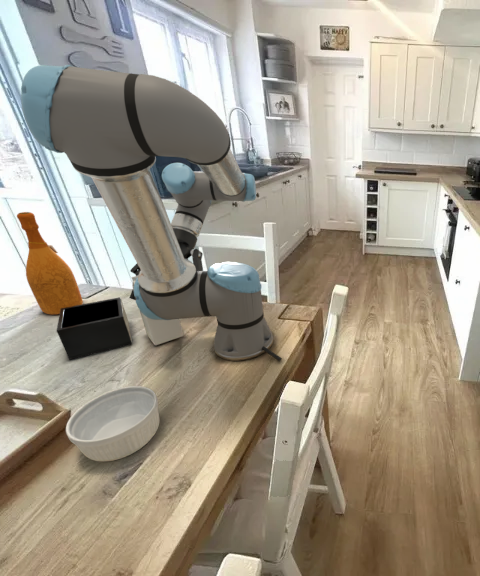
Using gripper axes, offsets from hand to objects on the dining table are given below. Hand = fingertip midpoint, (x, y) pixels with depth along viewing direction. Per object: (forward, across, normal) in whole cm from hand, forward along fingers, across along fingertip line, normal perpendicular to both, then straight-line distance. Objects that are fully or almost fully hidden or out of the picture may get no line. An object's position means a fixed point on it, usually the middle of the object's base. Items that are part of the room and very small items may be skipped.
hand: (157, 302), depth 87 cm
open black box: (+12, +15, -4) cm, 19 cm away
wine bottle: (+3, +39, -12) cm, 41 cm away
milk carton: (+8, 0, -7) cm, 11 cm away
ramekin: (+30, -16, +15) cm, 37 cm away
